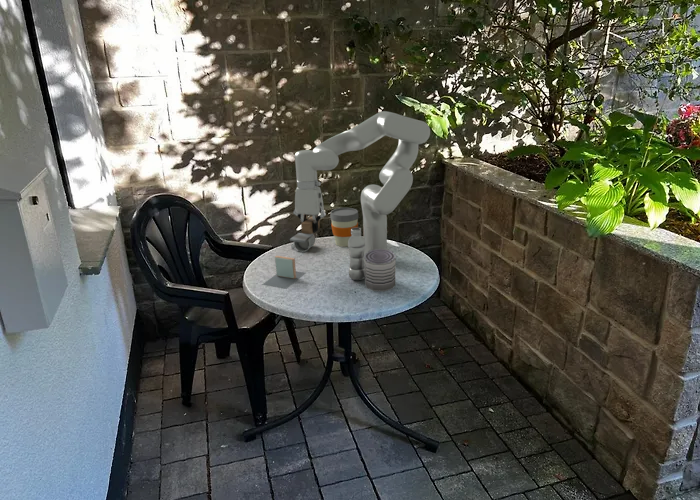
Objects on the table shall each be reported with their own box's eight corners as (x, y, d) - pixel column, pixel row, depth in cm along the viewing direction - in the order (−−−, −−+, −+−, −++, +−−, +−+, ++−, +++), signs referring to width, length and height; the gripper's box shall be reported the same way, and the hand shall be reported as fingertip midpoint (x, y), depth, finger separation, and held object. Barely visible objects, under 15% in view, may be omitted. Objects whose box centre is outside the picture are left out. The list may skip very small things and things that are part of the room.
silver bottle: (357, 273, 191) (355, 225, 184) (369, 278, 187) (368, 228, 179) (345, 278, 187) (343, 229, 180) (357, 284, 183) (356, 233, 175)
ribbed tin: (400, 281, 184) (400, 251, 179) (388, 294, 174) (388, 263, 170) (372, 276, 189) (372, 247, 184) (359, 288, 179) (358, 258, 175)
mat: (306, 274, 192) (305, 272, 192) (286, 290, 180) (286, 288, 180) (283, 270, 197) (283, 269, 196) (262, 285, 184) (262, 284, 184)
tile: (296, 277, 188) (294, 258, 185) (294, 279, 187) (292, 259, 184) (278, 274, 192) (276, 255, 189) (276, 276, 190) (274, 257, 187)
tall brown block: (309, 226, 194) (308, 216, 192) (323, 228, 191) (322, 217, 190) (289, 240, 180) (288, 229, 178) (304, 242, 178) (303, 230, 176)
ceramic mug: (317, 245, 221) (315, 229, 218) (310, 252, 214) (308, 235, 211) (295, 244, 224) (293, 228, 221) (288, 251, 217) (286, 234, 214)
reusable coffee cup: (325, 244, 222) (324, 212, 217) (344, 236, 231) (342, 206, 225) (346, 250, 214) (345, 217, 209) (364, 242, 223) (364, 210, 218)
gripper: (331, 183, 182) (334, 230, 189) (292, 180, 188) (296, 226, 195) (323, 188, 175) (326, 236, 182) (282, 185, 181) (287, 232, 188)
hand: (310, 230), depth 188 cm, fingers closed on tall brown block, 3 cm apart
